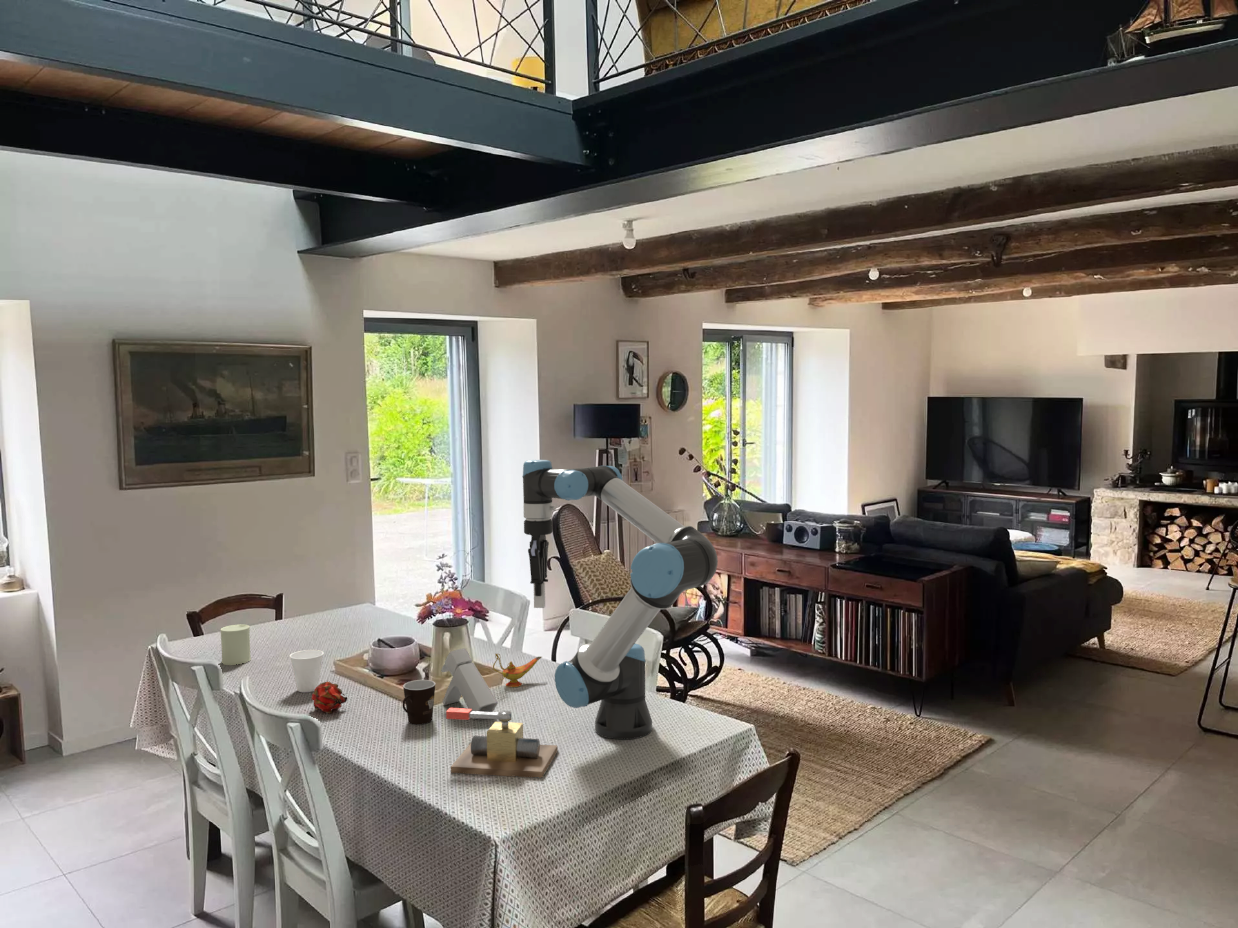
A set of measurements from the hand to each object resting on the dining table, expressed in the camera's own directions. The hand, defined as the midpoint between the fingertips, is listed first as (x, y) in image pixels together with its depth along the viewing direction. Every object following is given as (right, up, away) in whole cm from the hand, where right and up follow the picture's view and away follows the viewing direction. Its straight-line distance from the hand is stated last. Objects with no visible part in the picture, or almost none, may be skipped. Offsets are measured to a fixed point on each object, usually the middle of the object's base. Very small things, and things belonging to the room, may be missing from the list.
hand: (539, 607), depth 241 cm
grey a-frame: (-21, -32, +15) cm, 41 cm away
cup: (-73, -31, +35) cm, 87 cm away
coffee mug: (-34, -33, +7) cm, 48 cm away
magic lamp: (-10, -30, +39) cm, 50 cm away
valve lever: (-13, -24, -20) cm, 34 cm away
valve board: (-6, -34, -21) cm, 40 cm away
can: (-108, -29, +66) cm, 130 cm away
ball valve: (-6, -33, -21) cm, 39 cm away
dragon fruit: (-61, -32, +17) cm, 71 cm away
